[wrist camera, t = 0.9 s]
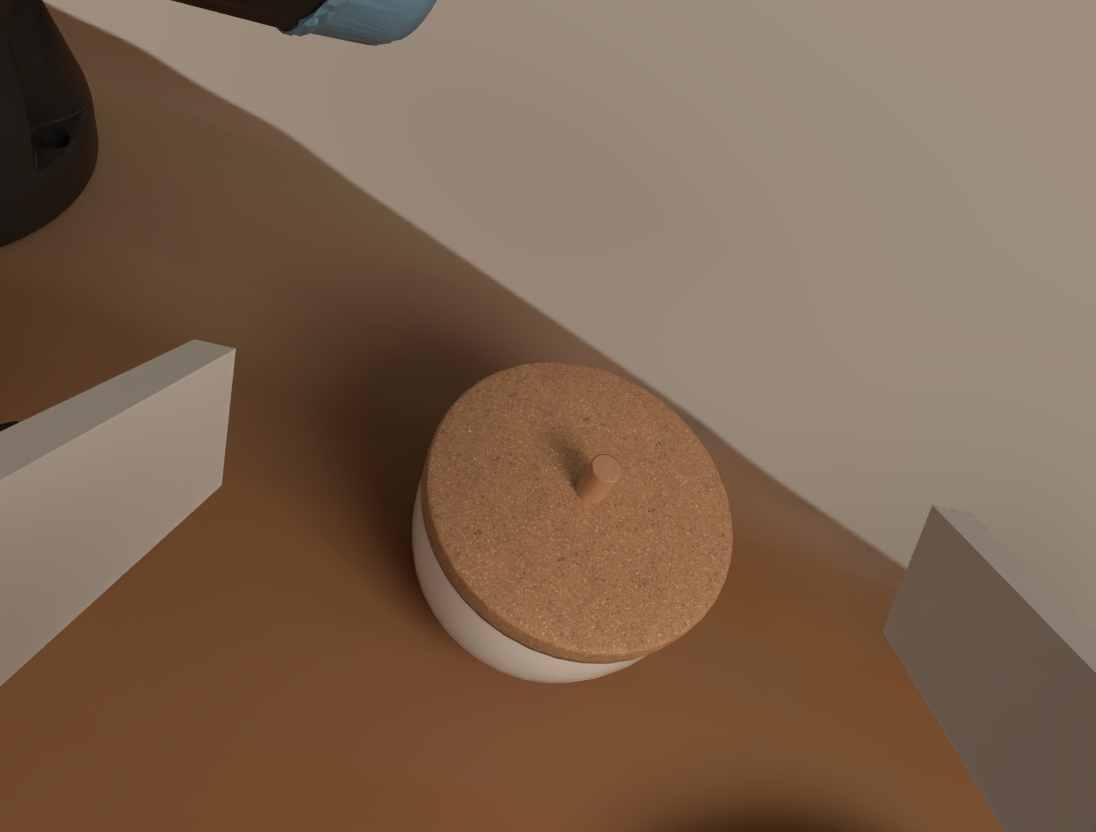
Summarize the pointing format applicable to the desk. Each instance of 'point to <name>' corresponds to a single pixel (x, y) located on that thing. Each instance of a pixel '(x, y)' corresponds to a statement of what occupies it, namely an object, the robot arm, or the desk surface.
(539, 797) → the desk surface
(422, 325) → the desk surface
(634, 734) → the desk surface
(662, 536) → the lidded jar
